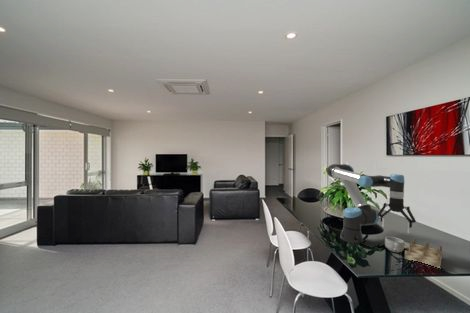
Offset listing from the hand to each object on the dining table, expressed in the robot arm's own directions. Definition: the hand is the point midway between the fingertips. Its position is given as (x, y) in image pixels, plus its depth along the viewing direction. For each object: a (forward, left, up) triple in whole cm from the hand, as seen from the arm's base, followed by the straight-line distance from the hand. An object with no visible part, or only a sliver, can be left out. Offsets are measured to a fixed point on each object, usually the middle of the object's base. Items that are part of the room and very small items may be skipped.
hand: (395, 229), depth 142 cm
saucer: (+1, +18, -15) cm, 24 cm away
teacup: (0, 0, -15) cm, 15 cm away
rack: (+14, +3, -15) cm, 21 cm away
